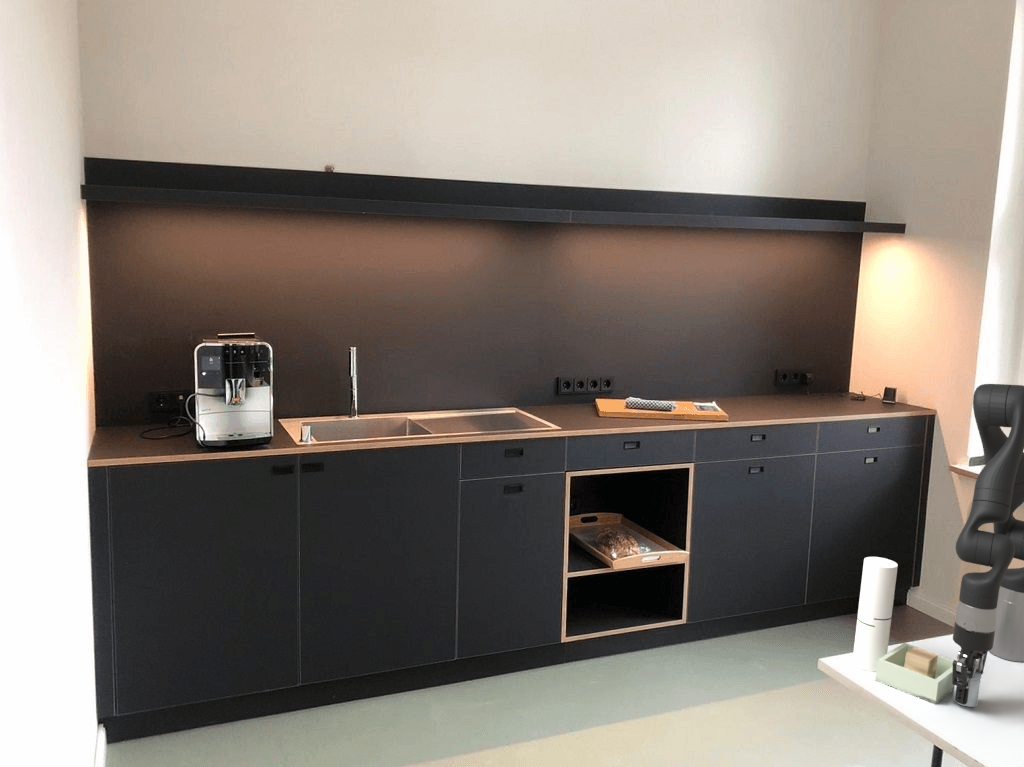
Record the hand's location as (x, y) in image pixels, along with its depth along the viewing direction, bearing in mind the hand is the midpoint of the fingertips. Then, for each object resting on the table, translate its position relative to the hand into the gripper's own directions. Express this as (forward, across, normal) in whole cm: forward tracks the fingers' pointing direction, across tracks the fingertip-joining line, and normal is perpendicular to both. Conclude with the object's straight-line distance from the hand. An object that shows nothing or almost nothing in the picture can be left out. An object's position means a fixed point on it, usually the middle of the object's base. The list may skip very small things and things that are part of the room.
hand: (965, 698), depth 182 cm
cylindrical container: (+2, -2, -22) cm, 22 cm away
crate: (+2, -2, -11) cm, 11 cm away
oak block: (+1, -2, -11) cm, 11 cm away
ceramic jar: (+1, 0, 0) cm, 1 cm away
